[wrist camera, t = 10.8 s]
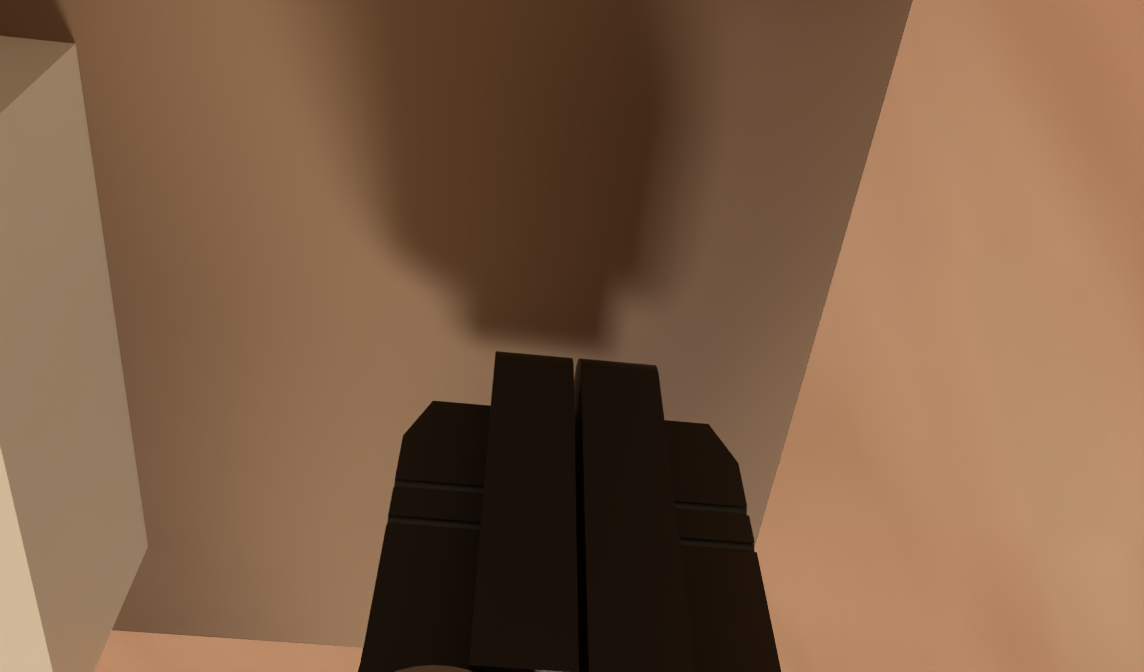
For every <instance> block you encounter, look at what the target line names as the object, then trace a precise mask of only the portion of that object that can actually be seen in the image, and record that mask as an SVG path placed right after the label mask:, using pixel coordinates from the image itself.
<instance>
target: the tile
mask: <svg viewBox="0 0 1144 672" xmlns="http://www.w3.org/2000/svg"><path fill="white" fill-rule="evenodd" d="M147 548H148V543H147V536H146V530H145V523H144V516H143V509H142V502H141V495H140V488H139V481H138V474H137V467H136V460H135V453H134V446H133V439H132V432H131V425H130V418H129V412H128V405H127V398H126V391H125V384H124V377H123V370H122V363H121V356H120V349H119V342H118V335H117V328H116V321H115V314H114V307H113V300H112V293H111V287H110V280H109V273H108V266H107V259H106V252H105V245H104V238H103V231H102V224H101V217H100V210H99V203H98V196H97V189H96V182H95V175H94V168H93V162H92V155H91V148H90V141H89V134H88V127H87V120H86V113H85V106H84V99H83V92H82V85H81V78H80V71H79V64H78V57H77V50H76V44H74V43H64V42H55V41H45V40H36V39H26V38H17V37H8V36H0V672H94V670H95V667H96V665H97V663H98V660H99V658H100V656H101V653H102V651H103V649H104V647H105V644H106V642H107V640H108V637H109V635H110V633H111V630H112V628H113V626H114V624H115V621H116V619H117V617H118V614H119V612H120V610H121V607H122V605H123V603H124V601H125V598H126V596H127V594H128V591H129V589H130V587H131V585H132V582H133V580H134V578H135V575H136V573H137V571H138V568H139V566H140V564H141V562H142V559H143V557H144V555H145V552H146V550H147Z"/></svg>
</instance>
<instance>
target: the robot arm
mask: <svg viewBox="0 0 1144 672" xmlns="http://www.w3.org/2000/svg"><path fill="white" fill-rule="evenodd" d="M754 544H755V541H754V537H753V532H752V527H751V522H750V517H749V515H747V502H746V497H745V493H744V488H743V483H742V478H741V473H740V468H739V463H738V462H737V461H736V459H735V458H734V457H733V455H732V454H731V453H730V451H729V450H728V449H727V447H726V446H725V445H724V443H723V442H722V441H721V440H720V438H719V437H718V436H717V434H716V433H715V432H714V430H713V429H712V428H711V426H710V425H709V424H704V423H692V422H680V421H669V420H664V412H663V404H662V396H661V388H660V380H659V373H658V369H657V366H656V365H648V364H637V363H626V362H614V361H603V360H592V359H581V358H579V359H578V361H577V365H576V370H575V375H574V363H573V358H566V357H555V356H544V355H533V354H522V353H511V352H499V351H496V352H495V362H494V372H493V383H492V394H491V404H490V405H479V404H467V403H455V402H444V401H432V402H431V404H430V405H429V406H428V407H427V408H426V409H425V410H424V412H423V413H422V414H421V415H420V416H419V417H418V419H417V420H416V421H415V422H414V423H413V424H412V426H411V427H410V428H409V429H408V430H407V431H406V433H405V434H404V435H403V438H402V443H401V449H400V454H399V459H398V465H397V470H396V475H395V484H394V487H393V491H392V497H391V502H390V508H389V513H388V522H387V524H386V529H385V534H384V540H383V545H382V550H381V556H380V561H379V566H378V572H377V577H376V583H375V588H374V593H373V599H372V604H371V609H370V615H369V620H368V625H367V631H366V636H365V641H364V647H363V652H362V658H361V663H360V666H359V670H358V672H781V669H780V664H779V659H778V654H777V649H776V644H775V639H774V634H773V630H772V625H771V620H770V615H769V610H768V605H767V600H766V595H765V590H764V586H763V581H762V576H761V571H760V566H759V561H758V556H757V552H754Z"/></svg>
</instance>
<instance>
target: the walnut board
mask: <svg viewBox="0 0 1144 672" xmlns="http://www.w3.org/2000/svg"><path fill="white" fill-rule="evenodd" d="M912 1H913V0H0V36H8V37H17V38H26V39H36V40H45V41H55V42H64V43H74V44H76V50H77V57H78V64H79V71H80V78H81V85H82V92H83V99H84V106H85V113H86V120H87V127H88V134H89V141H90V148H91V155H92V162H93V168H94V175H95V182H96V189H97V196H98V203H99V210H100V217H101V224H102V231H103V238H104V245H105V252H106V259H107V266H108V273H109V280H110V287H111V293H112V300H113V307H114V314H115V321H116V328H117V335H118V342H119V349H120V356H121V363H122V370H123V377H124V384H125V391H126V398H127V405H128V412H129V418H130V425H131V432H132V439H133V446H134V453H135V460H136V467H137V474H138V481H139V488H140V495H141V502H142V509H143V516H144V523H145V530H146V536H147V543H148V548H147V550H146V552H145V555H144V557H143V559H142V562H141V564H140V566H139V568H138V571H137V573H136V575H135V578H134V580H133V582H132V585H131V587H130V589H129V591H128V594H127V596H126V598H125V601H124V603H123V605H122V607H121V610H120V612H119V614H118V617H117V619H116V621H115V624H114V626H113V628H112V630H119V631H133V632H147V633H162V634H176V635H190V636H205V637H219V638H233V639H248V640H262V641H276V642H291V643H305V644H319V645H334V646H348V647H362V648H363V647H364V641H365V636H366V631H367V625H368V620H369V615H370V609H371V604H372V599H373V593H374V588H375V583H376V577H377V572H378V566H379V561H380V556H381V550H382V545H383V540H384V534H385V529H386V524H387V522H388V513H389V508H390V502H391V497H392V491H393V487H394V484H395V475H396V470H397V465H398V459H399V454H400V449H401V443H402V438H403V435H404V434H405V433H406V431H407V430H408V429H409V428H410V427H411V426H412V424H413V423H414V422H415V421H416V420H417V419H418V417H419V416H420V415H421V414H422V413H423V412H424V410H425V409H426V408H427V407H428V406H429V405H430V404H431V402H432V401H444V402H455V403H467V404H479V405H490V404H491V394H492V383H493V372H494V362H495V352H496V351H499V352H511V353H522V354H533V355H544V356H555V357H566V358H573V363H574V375H575V370H576V365H577V361H578V359H579V358H581V359H592V360H603V361H614V362H626V363H637V364H648V365H656V366H657V369H658V373H659V380H660V388H661V396H662V404H663V412H664V420H669V421H680V422H692V423H704V424H709V425H710V426H711V428H712V429H713V430H714V432H715V433H716V434H717V436H718V437H719V438H720V440H721V441H722V442H723V443H724V445H725V446H726V447H727V449H728V450H729V451H730V453H731V454H732V455H733V457H734V458H735V459H736V461H737V462H738V463H739V468H740V473H741V478H742V483H743V488H744V493H745V497H746V502H747V515H749V517H750V522H751V527H752V532H753V537H754V541H755V543H756V540H757V537H758V533H759V530H760V526H761V523H762V519H763V516H764V512H765V509H766V505H767V502H768V498H769V495H770V492H771V488H772V485H773V481H774V478H775V474H776V471H777V467H778V464H779V460H780V457H781V454H782V450H783V447H784V443H785V440H786V436H787V433H788V429H789V426H790V422H791V419H792V416H793V412H794V409H795V405H796V402H797V398H798V395H799V391H800V388H801V384H802V381H803V378H804V374H805V371H806V367H807V364H808V360H809V357H810V353H811V350H812V346H813V343H814V339H815V336H816V333H817V329H818V326H819V322H820V319H821V315H822V312H823V308H824V305H825V301H826V298H827V295H828V291H829V288H830V284H831V281H832V277H833V274H834V270H835V267H836V263H837V260H838V257H839V253H840V250H841V246H842V243H843V239H844V236H845V232H846V229H847V225H848V222H849V219H850V215H851V212H852V208H853V205H854V201H855V198H856V194H857V191H858V187H859V184H860V180H861V177H862V174H863V170H864V167H865V163H866V160H867V156H868V153H869V149H870V146H871V142H872V139H873V136H874V132H875V129H876V125H877V122H878V118H879V115H880V111H881V108H882V104H883V101H884V98H885V94H886V91H887V87H888V84H889V80H890V77H891V73H892V70H893V66H894V63H895V60H896V56H897V53H898V49H899V46H900V42H901V39H902V35H903V32H904V28H905V25H906V21H907V18H908V15H909V11H910V8H911V4H912ZM754 547H755V544H754Z"/></svg>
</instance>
